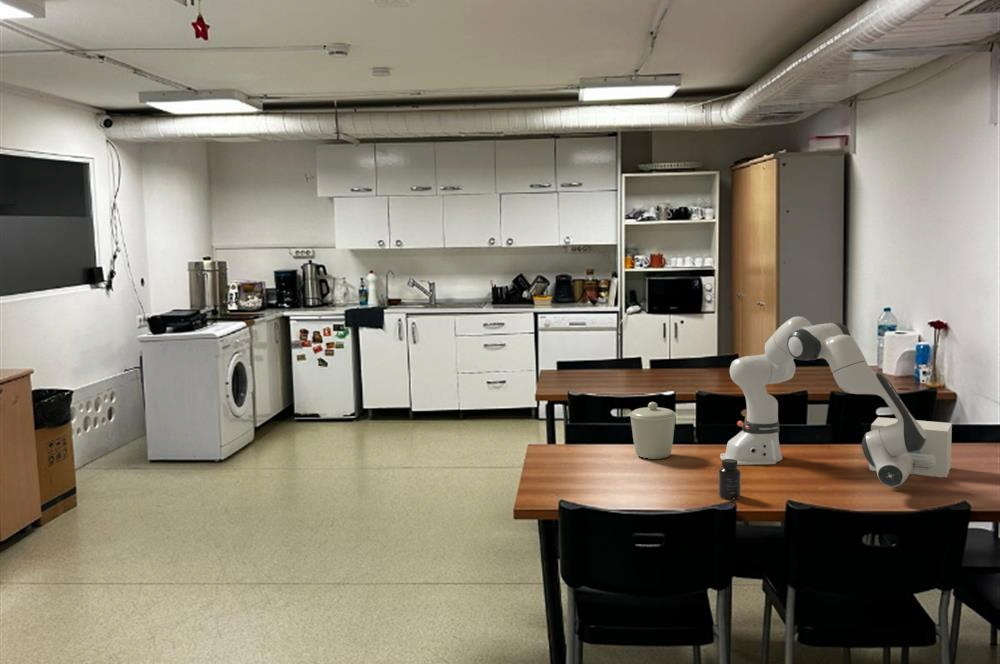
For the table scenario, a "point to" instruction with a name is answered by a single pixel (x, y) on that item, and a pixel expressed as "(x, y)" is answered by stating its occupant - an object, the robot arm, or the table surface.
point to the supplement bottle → (729, 479)
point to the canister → (653, 431)
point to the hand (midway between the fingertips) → (904, 453)
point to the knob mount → (929, 444)
